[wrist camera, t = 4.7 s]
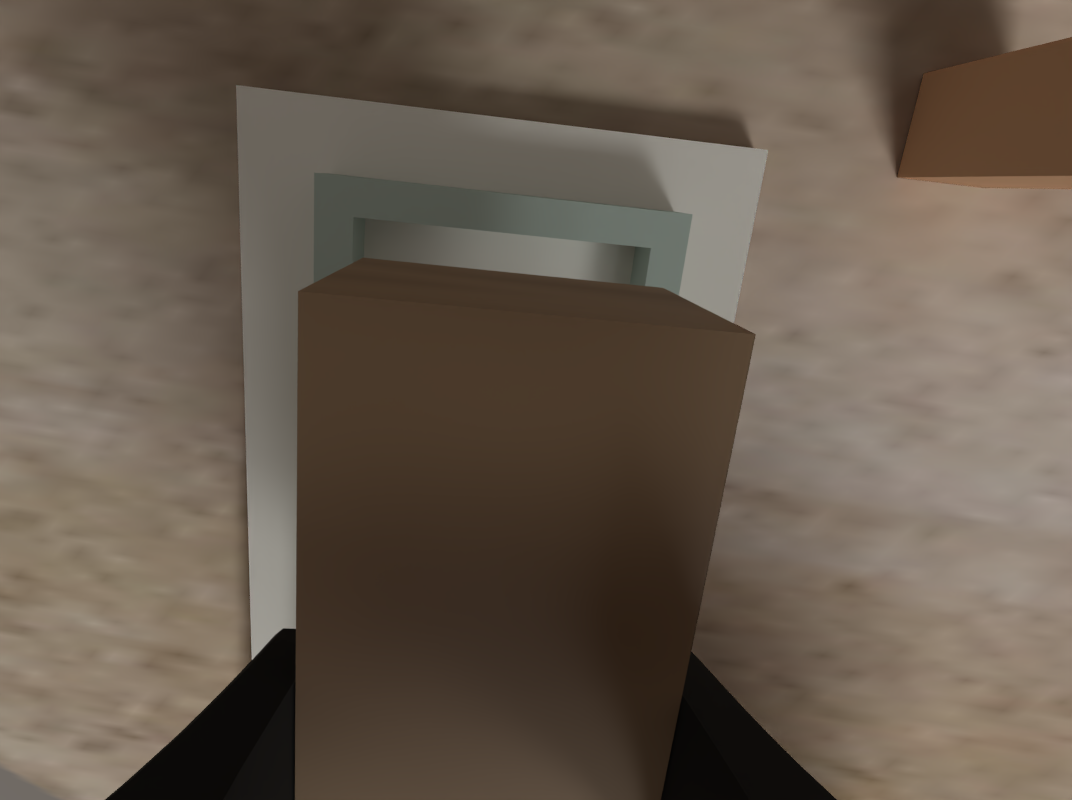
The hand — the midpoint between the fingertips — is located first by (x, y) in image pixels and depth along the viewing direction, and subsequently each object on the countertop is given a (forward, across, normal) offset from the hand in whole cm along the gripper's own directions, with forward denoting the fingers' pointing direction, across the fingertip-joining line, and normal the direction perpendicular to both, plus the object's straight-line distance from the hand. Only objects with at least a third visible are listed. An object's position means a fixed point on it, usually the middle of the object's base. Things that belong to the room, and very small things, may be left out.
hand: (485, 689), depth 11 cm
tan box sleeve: (+2, 0, 0) cm, 2 cm away
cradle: (+8, 0, 0) cm, 8 cm away
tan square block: (+8, -11, -10) cm, 17 cm away
